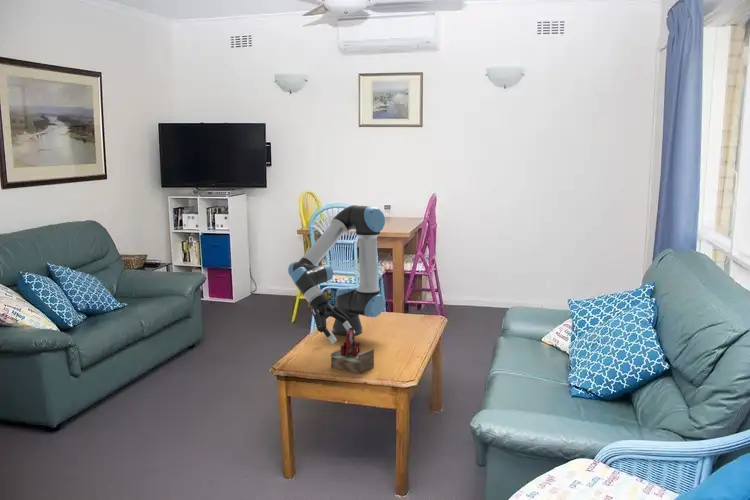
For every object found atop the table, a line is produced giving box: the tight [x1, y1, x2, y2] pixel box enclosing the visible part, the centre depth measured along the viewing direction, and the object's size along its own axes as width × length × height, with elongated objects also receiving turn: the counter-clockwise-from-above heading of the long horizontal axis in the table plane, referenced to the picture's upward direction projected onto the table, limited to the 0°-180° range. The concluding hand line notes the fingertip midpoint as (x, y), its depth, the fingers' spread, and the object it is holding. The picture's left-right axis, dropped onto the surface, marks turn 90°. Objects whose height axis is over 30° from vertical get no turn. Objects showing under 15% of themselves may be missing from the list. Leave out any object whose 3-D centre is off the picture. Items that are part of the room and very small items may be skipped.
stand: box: [330, 348, 375, 375], centre depth 262 cm, size 15×10×8 cm
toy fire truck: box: [340, 328, 362, 356], centre depth 262 cm, size 7×12×10 cm, turn 170°
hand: (344, 338), depth 263 cm, fingers open, 13 cm apart
